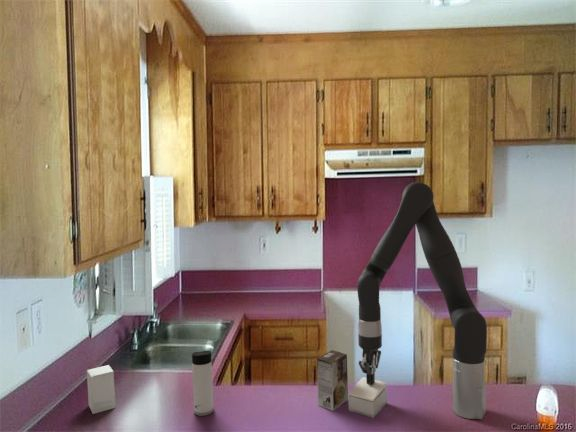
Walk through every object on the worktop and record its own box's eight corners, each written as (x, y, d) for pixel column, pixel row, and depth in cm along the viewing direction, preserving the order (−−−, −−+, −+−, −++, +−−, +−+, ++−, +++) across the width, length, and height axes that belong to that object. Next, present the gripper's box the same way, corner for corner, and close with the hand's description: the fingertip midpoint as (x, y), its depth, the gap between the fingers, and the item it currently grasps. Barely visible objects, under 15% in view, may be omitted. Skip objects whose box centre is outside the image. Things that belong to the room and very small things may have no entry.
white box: (387, 403, 146) (386, 388, 146) (373, 418, 137) (373, 402, 137) (363, 396, 151) (363, 382, 150) (348, 410, 142) (348, 395, 141)
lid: (386, 384, 145) (386, 382, 145) (373, 401, 136) (373, 399, 136) (363, 378, 150) (362, 376, 150) (348, 394, 141) (348, 393, 141)
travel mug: (195, 418, 140) (192, 356, 139) (193, 408, 146) (190, 349, 145) (214, 414, 142) (212, 353, 140) (212, 405, 148) (210, 346, 147)
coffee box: (332, 395, 153) (331, 349, 152) (348, 400, 149) (347, 353, 148) (317, 405, 146) (316, 357, 145) (333, 411, 142) (332, 362, 141)
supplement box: (116, 407, 148) (114, 371, 147) (92, 414, 144) (90, 376, 143) (111, 399, 154) (109, 364, 153) (88, 405, 150) (86, 369, 149)
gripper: (372, 340, 137) (373, 394, 138) (388, 328, 148) (389, 378, 149) (350, 336, 141) (351, 388, 142) (367, 324, 152) (368, 373, 153)
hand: (370, 383), depth 146 cm, fingers closed
